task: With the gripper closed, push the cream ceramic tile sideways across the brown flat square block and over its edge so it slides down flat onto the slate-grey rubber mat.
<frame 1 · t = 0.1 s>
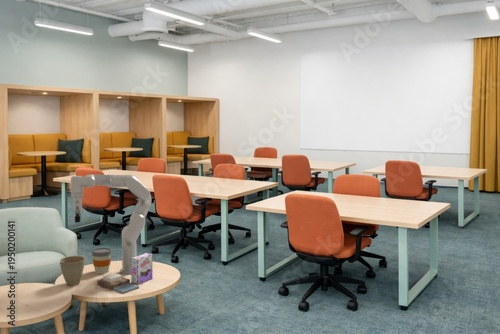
hand: (77, 220, 299), 37 cm above the table, tool pointing down, fingers open, 9 cm apart
reusable coffee cup: (102, 271, 312), on the table
tile: (112, 279, 287), point 3 cm above the table, touching brown flat square block
candy box: (142, 281, 295), on the table
brown flat square block: (113, 284, 287), on the table
mat: (126, 288, 280), on the table
plant pot: (72, 284, 287), on the table
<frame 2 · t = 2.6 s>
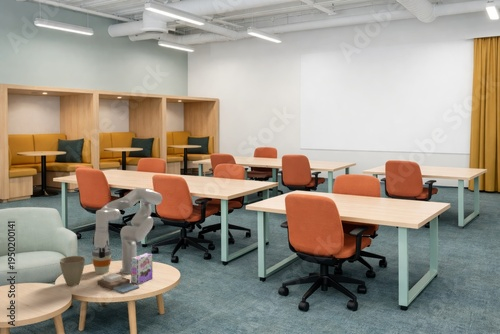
hand: (101, 257, 291), 16 cm above the table, tool pointing down, fingers closed
nothing on the table moved.
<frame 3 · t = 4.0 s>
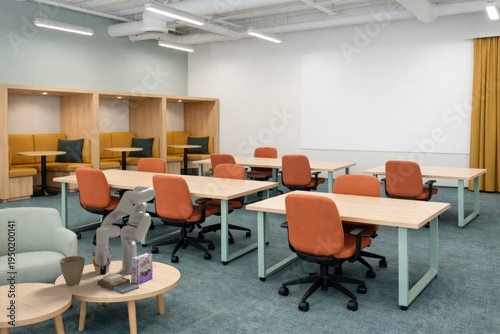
hand: (103, 274, 293), 4 cm above the table, tool pointing down, fingers closed
nothing on the table moved.
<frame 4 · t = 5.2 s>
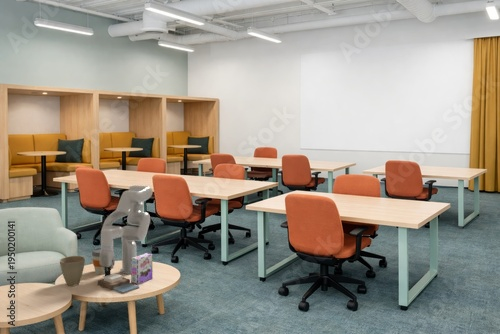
hand: (107, 276, 290), 4 cm above the table, tool pointing down, fingers closed
tile: (113, 280, 287), point 3 cm above the table, touching brown flat square block, gripper
everything else where it was.
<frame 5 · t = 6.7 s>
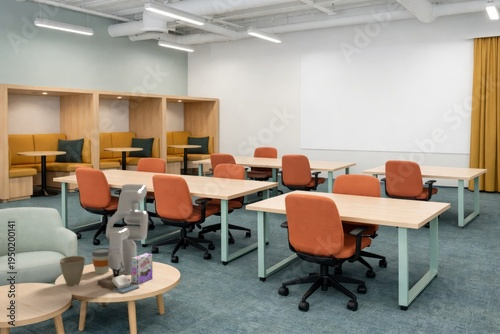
hand: (116, 279, 285), 4 cm above the table, tool pointing down, fingers closed
tile: (120, 283, 282), point 3 cm above the table, tilted 24°, touching gripper
everything else where it was.
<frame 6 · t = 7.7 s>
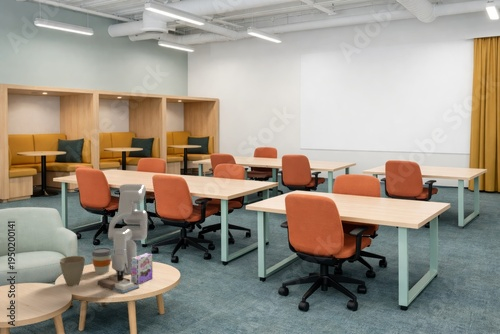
hand: (120, 280, 283), 4 cm above the table, tool pointing down, fingers closed
tile: (124, 287, 280), point 1 cm above the table, touching mat
everything else where it was.
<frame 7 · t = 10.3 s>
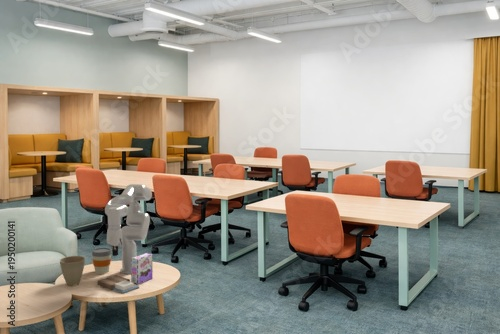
hand: (115, 255, 286), 19 cm above the table, tool pointing down, fingers closed
nothing on the table moved.
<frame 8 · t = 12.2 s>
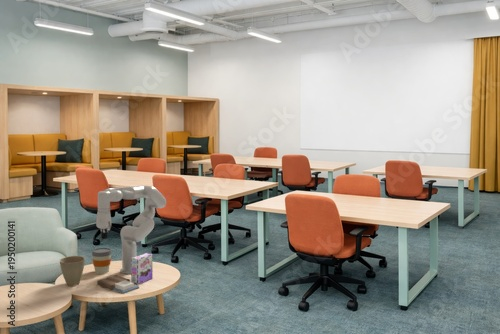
hand: (104, 238, 294), 27 cm above the table, tool pointing down, fingers closed
nothing on the table moved.
at the end: tile inside the target area on the mat (1.0 cm from its centre), point 1.0 cm above the mat's base; tile point 1.0 cm above the table; tile tilted 0° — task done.
